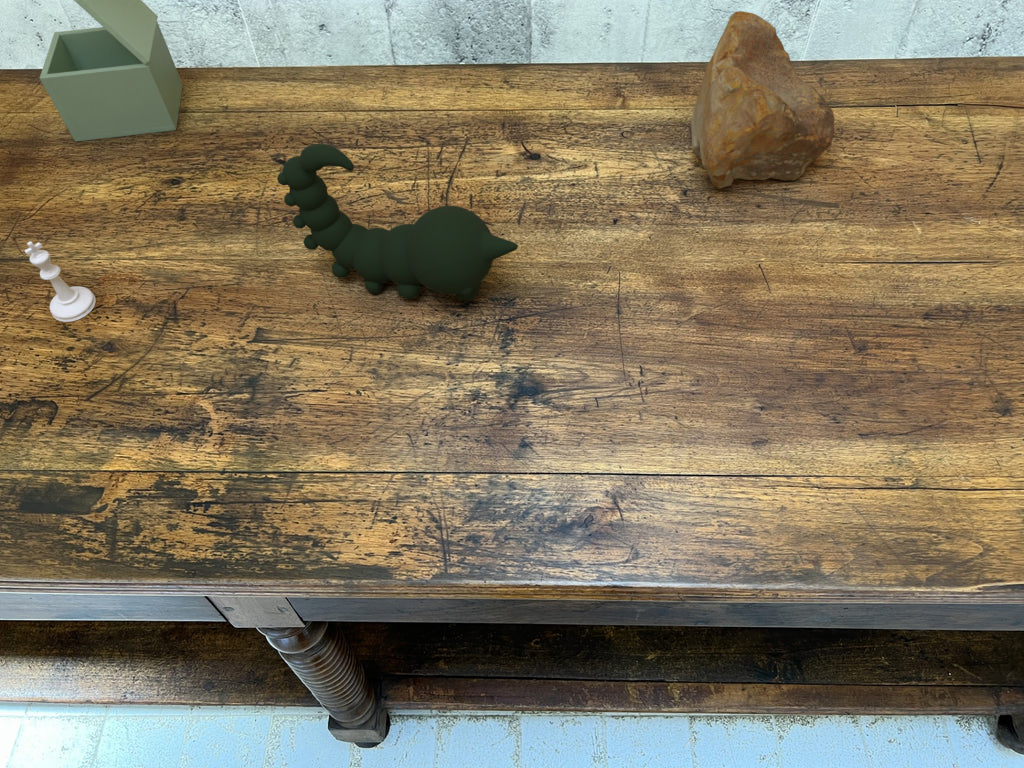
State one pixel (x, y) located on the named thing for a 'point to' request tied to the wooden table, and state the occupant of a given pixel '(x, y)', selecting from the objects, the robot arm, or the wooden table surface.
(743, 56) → the rough brown rock
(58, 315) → the chess piece
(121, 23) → the bin lid
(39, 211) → the wooden table surface
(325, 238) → the toy figurine
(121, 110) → the bin
